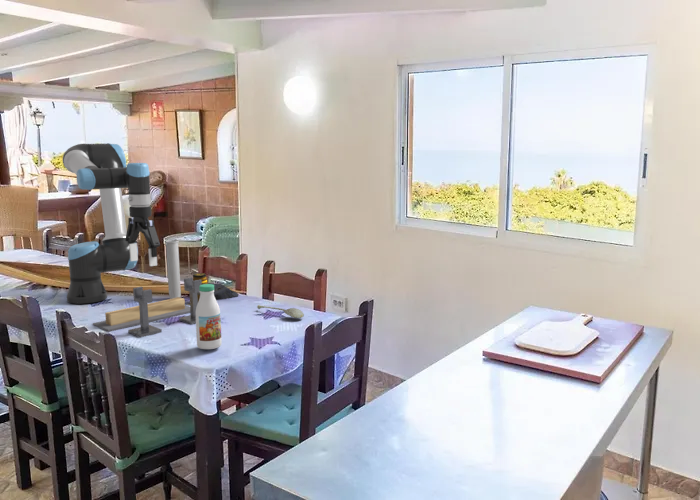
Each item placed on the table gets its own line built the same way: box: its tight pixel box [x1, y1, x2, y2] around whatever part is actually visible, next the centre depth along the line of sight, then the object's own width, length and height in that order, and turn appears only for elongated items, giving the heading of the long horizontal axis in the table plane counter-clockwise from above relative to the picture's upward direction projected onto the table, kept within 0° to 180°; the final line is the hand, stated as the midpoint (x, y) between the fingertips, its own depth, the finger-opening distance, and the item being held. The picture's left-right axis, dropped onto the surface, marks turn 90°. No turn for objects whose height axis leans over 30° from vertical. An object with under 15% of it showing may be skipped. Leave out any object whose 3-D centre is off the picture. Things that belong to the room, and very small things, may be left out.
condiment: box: [186, 272, 208, 306], centre depth 246 cm, size 7×8×12 cm
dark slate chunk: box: [207, 282, 239, 301], centre depth 262 cm, size 15×22×5 cm
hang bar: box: [104, 297, 186, 326], centre depth 225 cm, size 4×30×4 cm, turn 138°
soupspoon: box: [256, 304, 305, 319], centre depth 232 cm, size 22×3×7 cm
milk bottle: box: [195, 283, 222, 350], centre depth 192 cm, size 8×8×20 cm
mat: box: [92, 305, 190, 333], centre depth 226 cm, size 12×36×1 cm, turn 138°
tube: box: [165, 239, 182, 299], centre depth 251 cm, size 5×5×25 cm
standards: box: [127, 277, 202, 338], centre depth 214 cm, size 8×28×15 cm, turn 138°
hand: (143, 263), depth 223 cm, fingers open, 13 cm apart
